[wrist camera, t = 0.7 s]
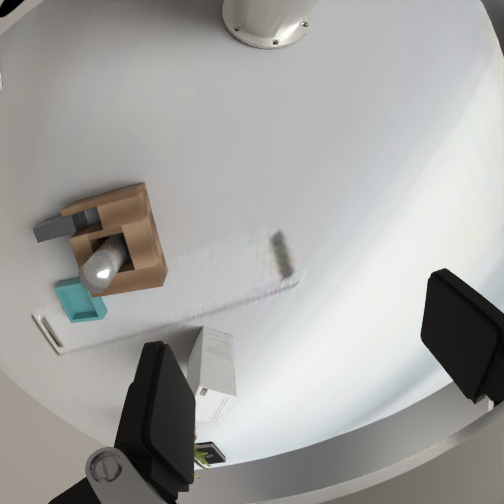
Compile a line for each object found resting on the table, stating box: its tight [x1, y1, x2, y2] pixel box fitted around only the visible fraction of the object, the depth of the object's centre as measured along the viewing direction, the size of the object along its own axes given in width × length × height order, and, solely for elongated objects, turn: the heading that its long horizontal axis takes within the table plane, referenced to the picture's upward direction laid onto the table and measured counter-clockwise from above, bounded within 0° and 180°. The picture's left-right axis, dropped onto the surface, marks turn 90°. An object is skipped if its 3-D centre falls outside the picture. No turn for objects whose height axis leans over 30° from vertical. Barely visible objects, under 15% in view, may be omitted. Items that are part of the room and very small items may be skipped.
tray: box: [55, 278, 107, 323], centre depth 44 cm, size 7×7×2 cm
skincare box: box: [186, 327, 237, 425], centre depth 44 cm, size 8×6×15 cm
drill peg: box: [79, 232, 130, 293], centre depth 37 cm, size 4×4×12 cm
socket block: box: [61, 182, 168, 298], centre depth 39 cm, size 14×12×5 cm
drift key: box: [33, 211, 87, 243], centre depth 38 cm, size 2×8×4 cm, turn 99°
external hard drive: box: [194, 442, 226, 464], centre depth 66 cm, size 7×11×2 cm, turn 15°
